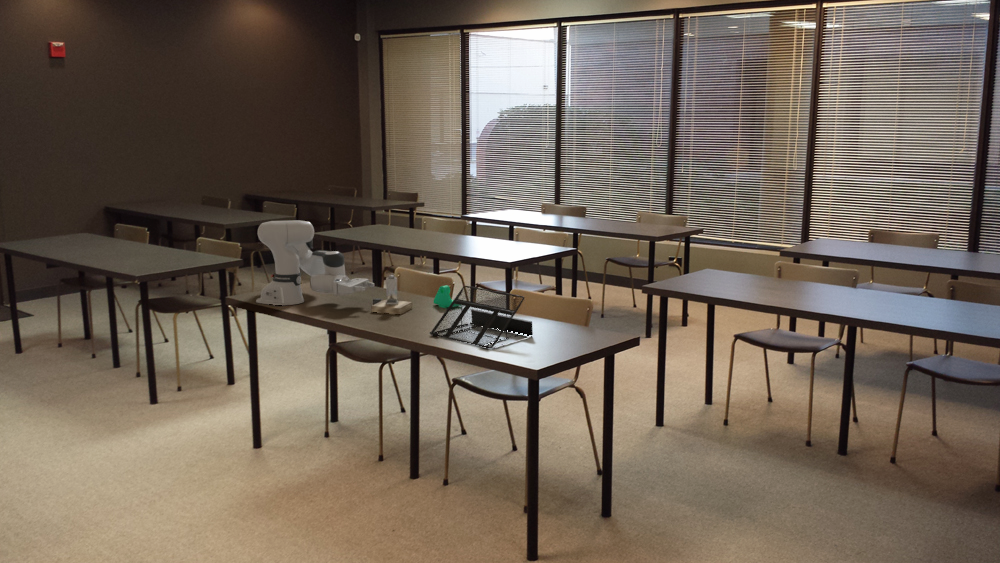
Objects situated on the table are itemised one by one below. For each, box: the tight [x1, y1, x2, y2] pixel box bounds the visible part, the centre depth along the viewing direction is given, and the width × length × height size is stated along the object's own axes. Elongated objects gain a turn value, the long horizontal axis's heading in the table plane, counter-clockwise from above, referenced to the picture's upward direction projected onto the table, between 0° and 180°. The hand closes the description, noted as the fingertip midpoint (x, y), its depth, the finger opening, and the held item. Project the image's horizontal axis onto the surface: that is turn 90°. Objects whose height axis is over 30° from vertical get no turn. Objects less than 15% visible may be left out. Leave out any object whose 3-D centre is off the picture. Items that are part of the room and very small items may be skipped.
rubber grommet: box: [372, 297, 382, 305], centre depth 387 cm, size 4×4×3 cm
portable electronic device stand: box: [429, 285, 534, 349], centre depth 332 cm, size 33×28×18 cm
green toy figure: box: [433, 284, 459, 309], centre depth 386 cm, size 12×8×10 cm, turn 46°
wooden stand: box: [371, 299, 413, 315], centre depth 377 cm, size 14×14×3 cm
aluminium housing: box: [385, 274, 400, 305], centre depth 375 cm, size 6×6×13 cm
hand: (369, 287), depth 377 cm, fingers open, 8 cm apart
